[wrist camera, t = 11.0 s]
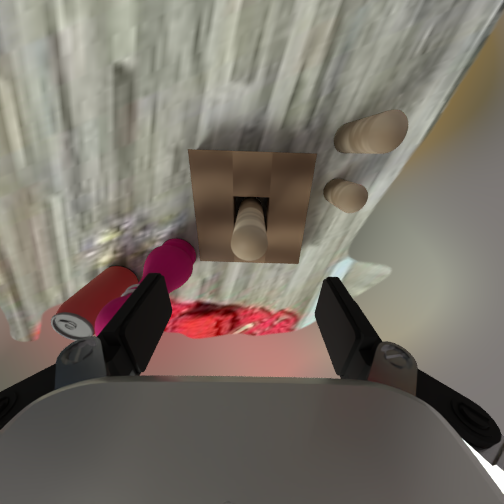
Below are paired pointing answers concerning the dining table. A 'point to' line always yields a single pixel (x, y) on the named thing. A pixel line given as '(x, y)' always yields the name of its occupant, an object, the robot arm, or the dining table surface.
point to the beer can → (91, 302)
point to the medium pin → (372, 133)
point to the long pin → (249, 231)
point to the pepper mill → (158, 261)
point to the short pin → (346, 195)
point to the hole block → (251, 185)
